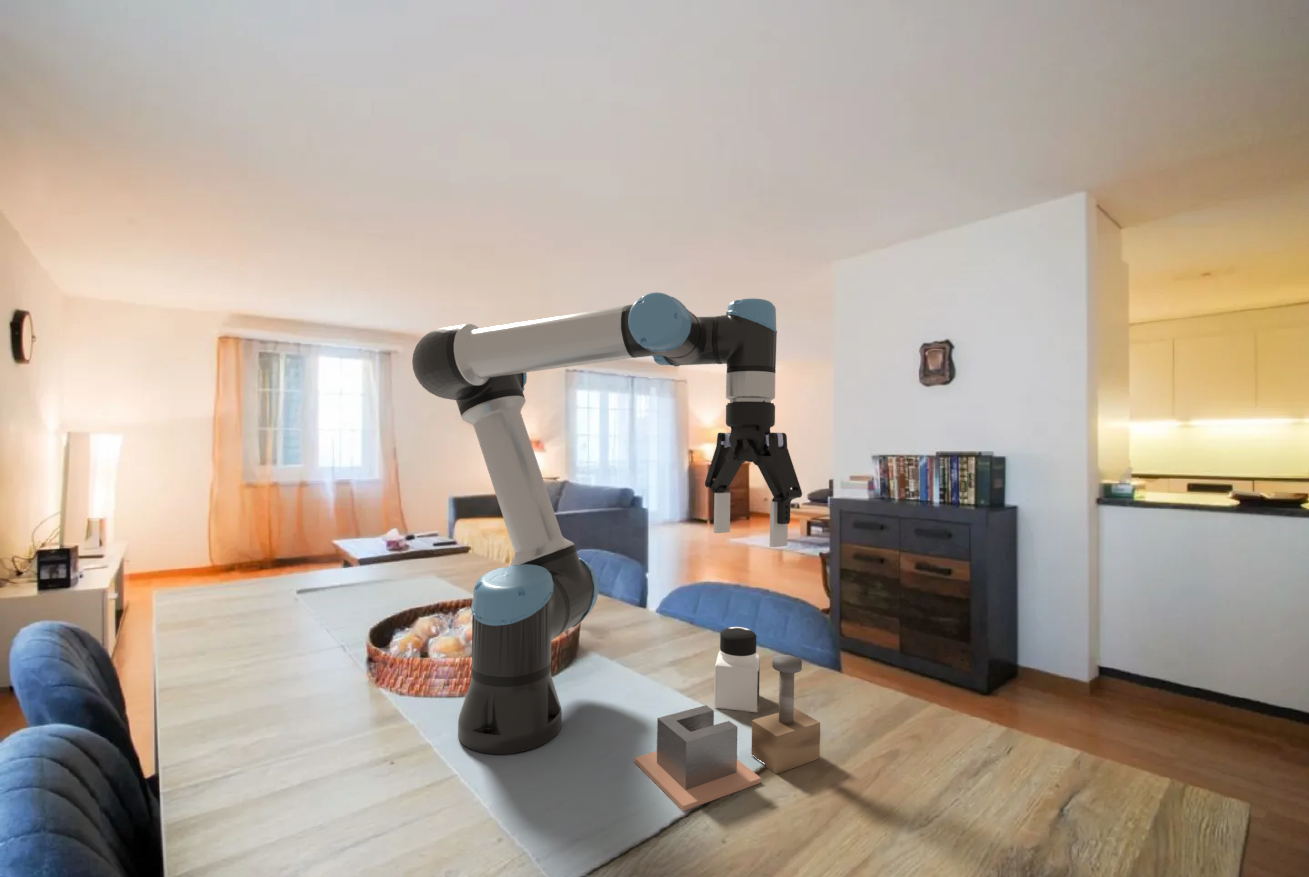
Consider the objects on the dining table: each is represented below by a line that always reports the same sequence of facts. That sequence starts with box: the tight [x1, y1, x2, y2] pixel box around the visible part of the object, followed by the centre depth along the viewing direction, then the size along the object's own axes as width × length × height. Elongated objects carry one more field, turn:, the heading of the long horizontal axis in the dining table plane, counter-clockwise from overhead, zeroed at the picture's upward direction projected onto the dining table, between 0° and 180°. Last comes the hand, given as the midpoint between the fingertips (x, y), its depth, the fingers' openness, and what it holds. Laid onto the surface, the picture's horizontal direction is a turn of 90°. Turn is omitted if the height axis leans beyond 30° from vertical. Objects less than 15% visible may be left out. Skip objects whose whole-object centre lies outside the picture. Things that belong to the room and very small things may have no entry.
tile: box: [634, 750, 762, 812], centre depth 77 cm, size 12×12×1 cm
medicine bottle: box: [713, 626, 761, 713], centre depth 99 cm, size 7×7×12 cm
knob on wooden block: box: [750, 654, 821, 775], centre depth 81 cm, size 5×8×14 cm, turn 120°
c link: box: [656, 704, 738, 790], centre depth 77 cm, size 8×7×6 cm
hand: (748, 539), depth 90 cm, fingers open, 13 cm apart
